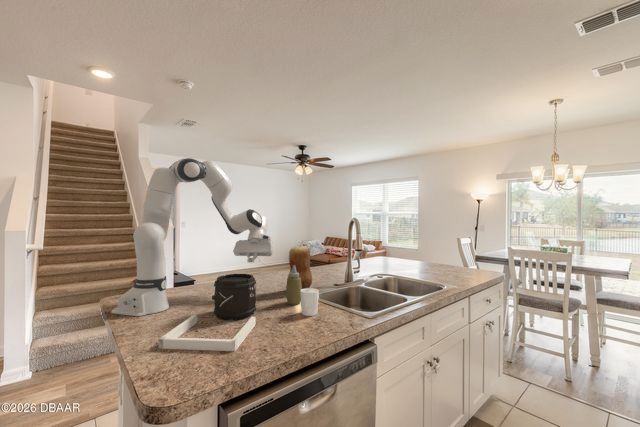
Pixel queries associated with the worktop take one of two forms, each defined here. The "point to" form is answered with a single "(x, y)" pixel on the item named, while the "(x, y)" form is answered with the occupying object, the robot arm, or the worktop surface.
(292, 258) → the butternut squash
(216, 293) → the black short wide cylinder
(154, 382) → the worktop surface
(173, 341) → the bay
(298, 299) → the squeeze bottle
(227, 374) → the worktop surface
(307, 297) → the white cup
